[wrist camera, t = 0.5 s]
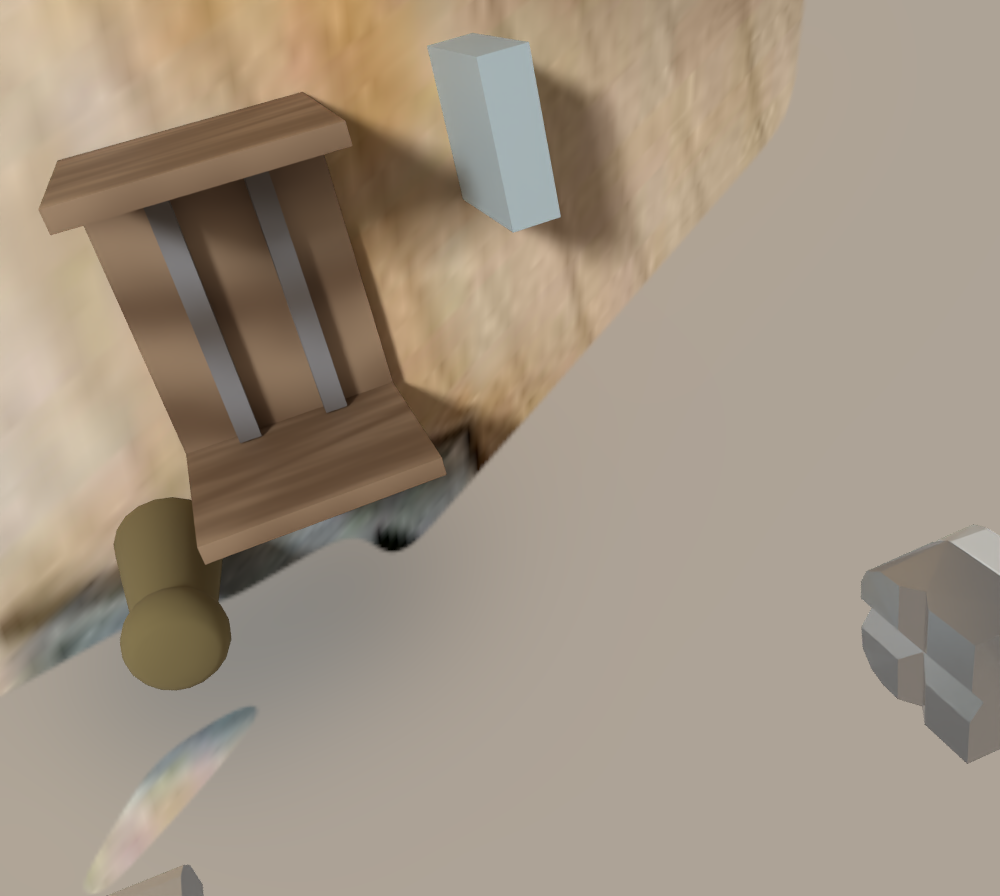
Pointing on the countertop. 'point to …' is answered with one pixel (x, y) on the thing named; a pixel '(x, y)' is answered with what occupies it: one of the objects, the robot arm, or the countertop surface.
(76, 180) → the cabinet
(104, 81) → the countertop surface
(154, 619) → the cork
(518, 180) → the door panel
